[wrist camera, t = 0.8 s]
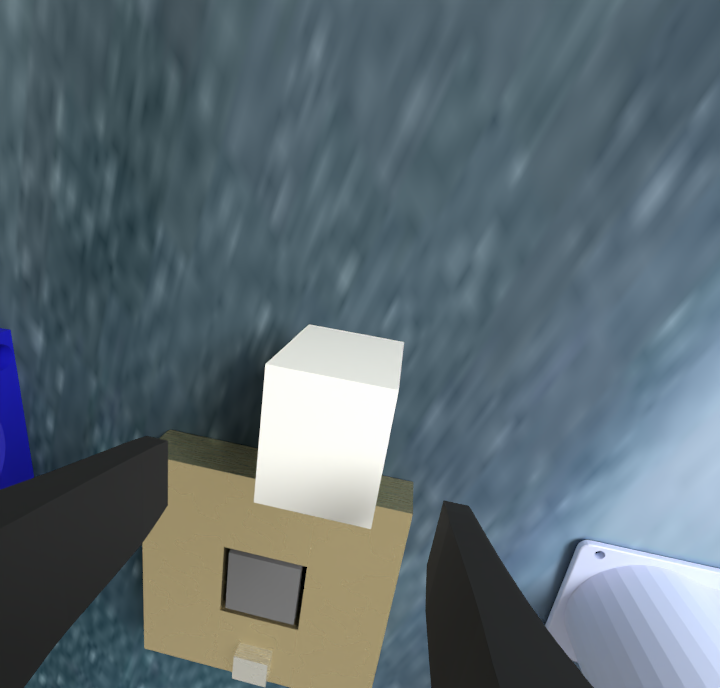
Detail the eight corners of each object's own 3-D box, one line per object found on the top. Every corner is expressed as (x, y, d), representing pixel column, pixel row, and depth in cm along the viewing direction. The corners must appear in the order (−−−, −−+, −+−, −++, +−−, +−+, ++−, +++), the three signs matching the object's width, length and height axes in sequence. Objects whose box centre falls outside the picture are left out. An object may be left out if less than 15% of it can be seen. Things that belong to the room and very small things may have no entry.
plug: (405, 324, 19) (398, 390, 11) (387, 417, 20) (371, 529, 13) (324, 310, 19) (265, 363, 12) (313, 401, 21) (253, 502, 13)
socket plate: (413, 482, 21) (412, 525, 18) (371, 663, 26) (365, 724, 22) (169, 429, 23) (130, 462, 19) (168, 610, 27) (135, 661, 24)
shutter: (304, 560, 21) (300, 570, 21) (296, 615, 23) (293, 624, 22) (233, 544, 22) (228, 552, 21) (230, 598, 23) (225, 607, 22)
